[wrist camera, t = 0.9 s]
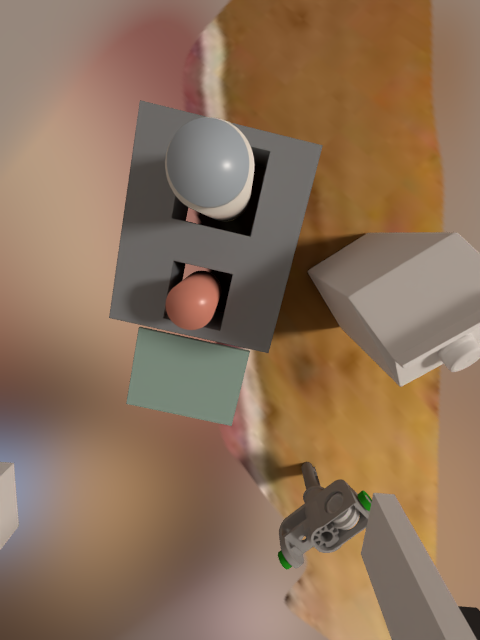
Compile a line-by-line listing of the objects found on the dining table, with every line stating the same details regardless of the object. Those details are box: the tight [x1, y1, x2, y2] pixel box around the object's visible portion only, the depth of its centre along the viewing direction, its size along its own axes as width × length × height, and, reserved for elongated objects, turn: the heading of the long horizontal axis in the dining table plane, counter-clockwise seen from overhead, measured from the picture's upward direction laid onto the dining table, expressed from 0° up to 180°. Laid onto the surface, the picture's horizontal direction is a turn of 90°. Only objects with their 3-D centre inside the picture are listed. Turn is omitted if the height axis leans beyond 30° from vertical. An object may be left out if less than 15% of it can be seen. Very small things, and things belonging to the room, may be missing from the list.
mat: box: [127, 327, 250, 426], centre depth 39 cm, size 12×9×1 cm
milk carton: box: [308, 232, 480, 387], centre depth 27 cm, size 7×7×19 cm
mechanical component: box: [278, 462, 372, 569], centre depth 37 cm, size 3×10×10 cm, turn 133°
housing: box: [109, 101, 323, 353], centre depth 32 cm, size 14×17×7 cm
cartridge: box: [165, 117, 255, 222], centre depth 26 cm, size 5×5×16 cm
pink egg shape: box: [166, 271, 221, 330], centre depth 29 cm, size 4×4×8 cm
